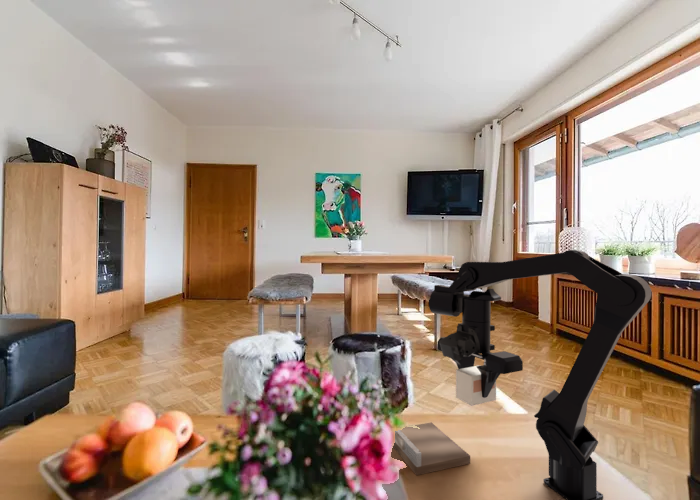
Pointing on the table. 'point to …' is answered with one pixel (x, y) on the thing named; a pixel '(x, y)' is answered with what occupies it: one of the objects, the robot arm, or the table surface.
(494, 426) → the table surface
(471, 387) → the carton
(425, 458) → the shelf board
